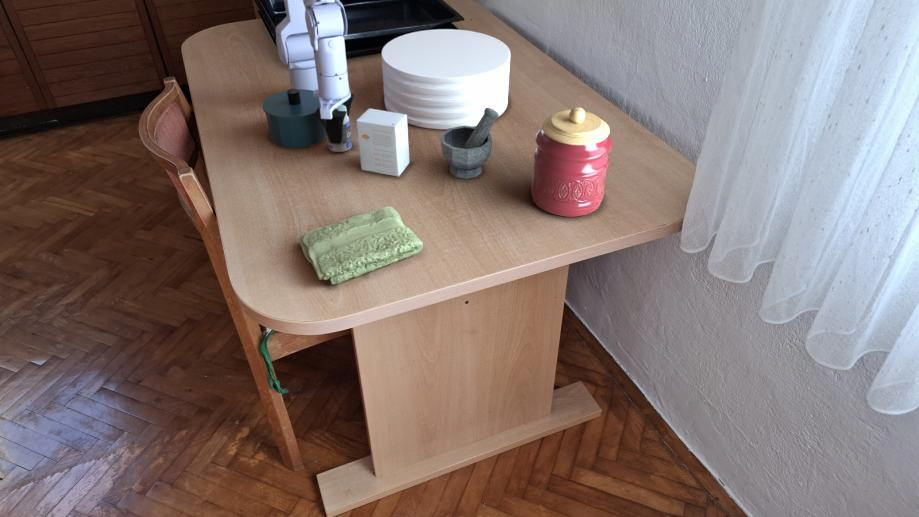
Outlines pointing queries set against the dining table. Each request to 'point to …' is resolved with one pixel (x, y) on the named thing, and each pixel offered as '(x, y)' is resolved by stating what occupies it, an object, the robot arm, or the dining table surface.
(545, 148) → the kitchen canister
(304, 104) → the pot lid
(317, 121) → the pot
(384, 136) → the small box
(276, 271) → the dining table surface
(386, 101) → the plate stack
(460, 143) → the mortar and pestle
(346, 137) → the pill bottle
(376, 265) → the washcloth
